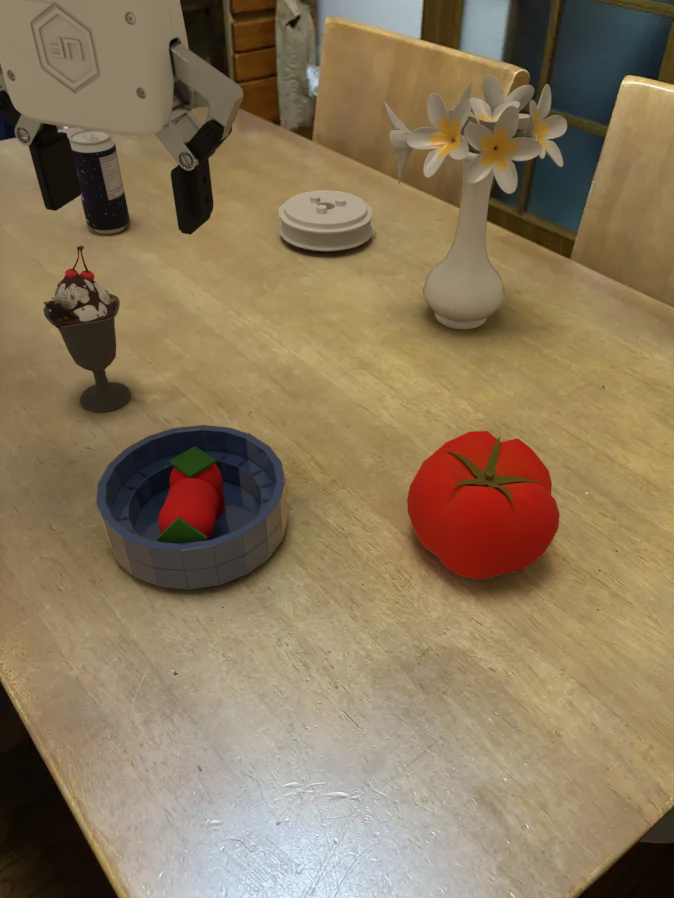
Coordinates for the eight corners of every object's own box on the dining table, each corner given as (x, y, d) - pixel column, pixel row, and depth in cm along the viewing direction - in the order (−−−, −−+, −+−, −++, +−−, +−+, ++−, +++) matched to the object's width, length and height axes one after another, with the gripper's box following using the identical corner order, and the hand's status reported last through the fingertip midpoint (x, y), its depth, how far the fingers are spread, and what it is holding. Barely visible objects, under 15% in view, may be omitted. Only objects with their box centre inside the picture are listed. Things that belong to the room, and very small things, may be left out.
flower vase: (368, 297, 91) (374, 67, 74) (512, 287, 94) (551, 64, 77) (390, 355, 82) (404, 108, 65) (549, 342, 85) (602, 102, 68)
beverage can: (119, 215, 106) (101, 125, 98) (138, 229, 103) (121, 137, 95) (81, 225, 103) (59, 133, 95) (99, 240, 100) (78, 146, 92)
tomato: (426, 485, 67) (435, 403, 61) (560, 523, 64) (583, 440, 58) (383, 569, 60) (389, 485, 53) (532, 616, 57) (557, 533, 50)
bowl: (74, 529, 62) (59, 484, 58) (211, 448, 70) (205, 404, 66) (185, 626, 55) (175, 581, 52) (322, 524, 63) (322, 479, 60)
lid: (391, 238, 103) (392, 202, 100) (325, 267, 97) (324, 229, 93) (327, 210, 110) (326, 175, 106) (260, 236, 103) (258, 199, 99)
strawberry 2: (156, 499, 59) (140, 540, 55) (188, 466, 58) (175, 506, 53) (199, 529, 61) (187, 570, 57) (231, 497, 59) (222, 538, 55)
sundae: (134, 373, 78) (103, 234, 68) (144, 409, 74) (113, 266, 63) (68, 384, 76) (26, 243, 66) (74, 423, 72) (30, 278, 62)
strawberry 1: (164, 509, 63) (154, 461, 59) (204, 484, 65) (196, 437, 62) (196, 534, 61) (188, 485, 57) (236, 507, 63) (230, 459, 60)
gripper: (-136, -129, 37) (-21, 216, 48) (184, -105, 33) (224, 260, 45) (-32, -138, 42) (49, 175, 54) (254, -118, 38) (273, 212, 50)
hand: (129, 214), depth 49 cm, fingers open, 9 cm apart
